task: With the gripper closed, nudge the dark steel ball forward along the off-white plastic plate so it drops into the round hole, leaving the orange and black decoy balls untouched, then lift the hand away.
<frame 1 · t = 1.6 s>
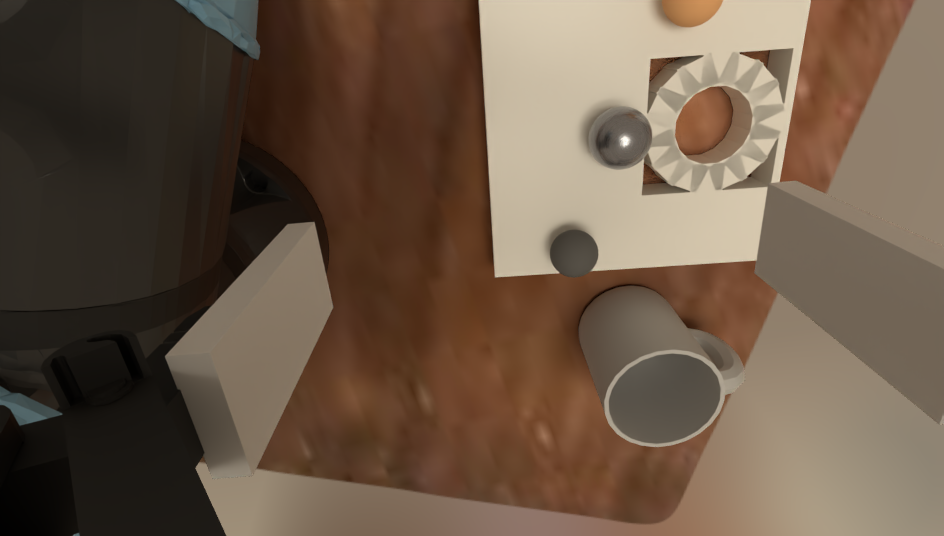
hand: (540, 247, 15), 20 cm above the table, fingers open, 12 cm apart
cup: (641, 323, 40), on the table
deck: (626, 124, 33), on the table
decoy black: (573, 253, 33), point 4 cm above the table, touching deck
ball: (619, 138, 30), point 4 cm above the table, touching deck
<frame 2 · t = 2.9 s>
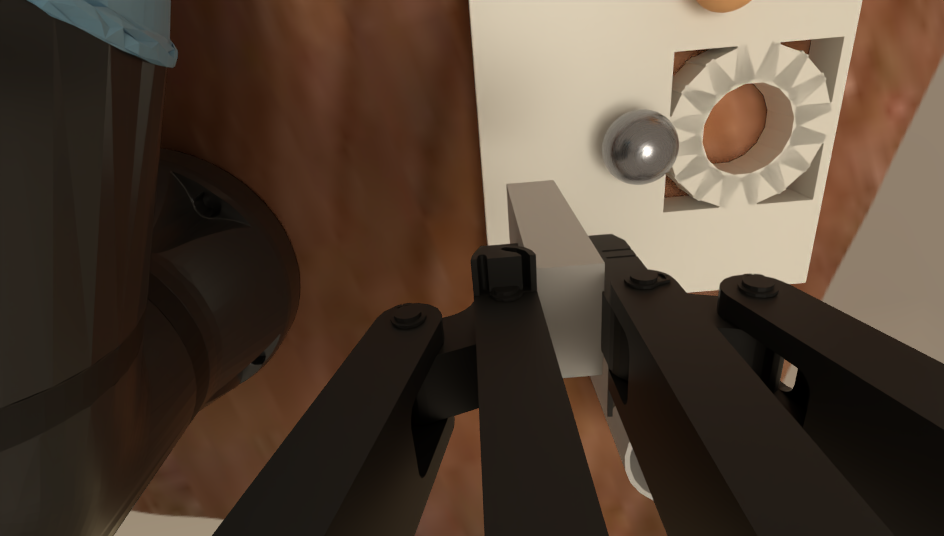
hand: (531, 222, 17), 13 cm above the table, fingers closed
cup: (659, 353, 35), on the table
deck: (642, 129, 29), on the table
ball: (639, 147, 25), point 4 cm above the table, touching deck
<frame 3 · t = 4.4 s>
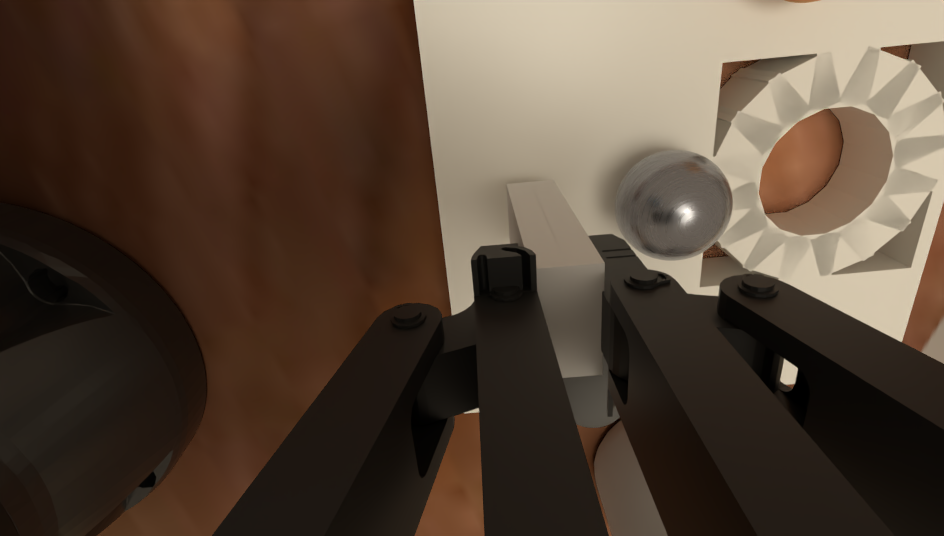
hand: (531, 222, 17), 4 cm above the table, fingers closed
cup: (686, 450, 27), on the table
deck: (669, 169, 20), on the table
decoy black: (590, 386, 20), point 4 cm above the table, touching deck
ball: (671, 205, 17), point 4 cm above the table, touching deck
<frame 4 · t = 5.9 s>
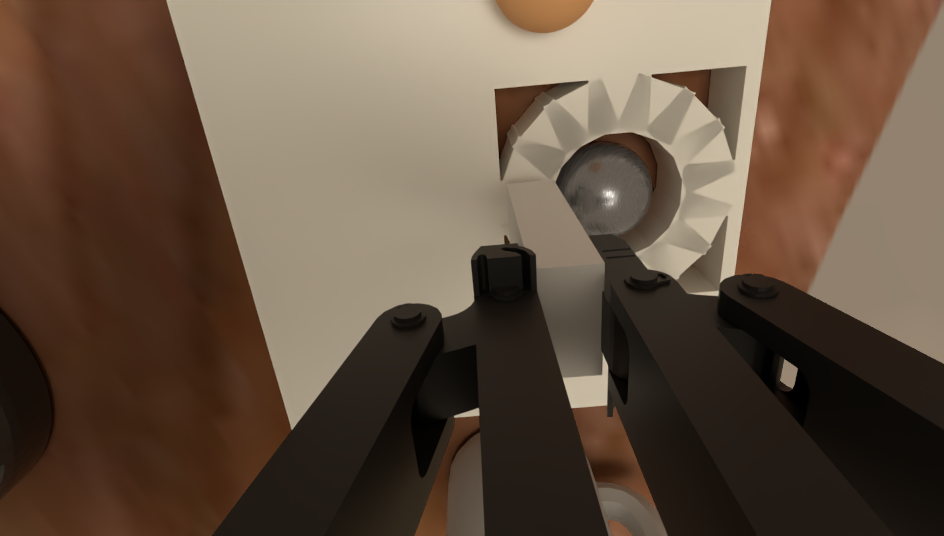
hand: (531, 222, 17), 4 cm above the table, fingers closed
cup: (545, 467, 27), on the table
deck: (484, 190, 21), on the table
ball: (601, 191, 19), point 2 cm above the table, tilted 141°
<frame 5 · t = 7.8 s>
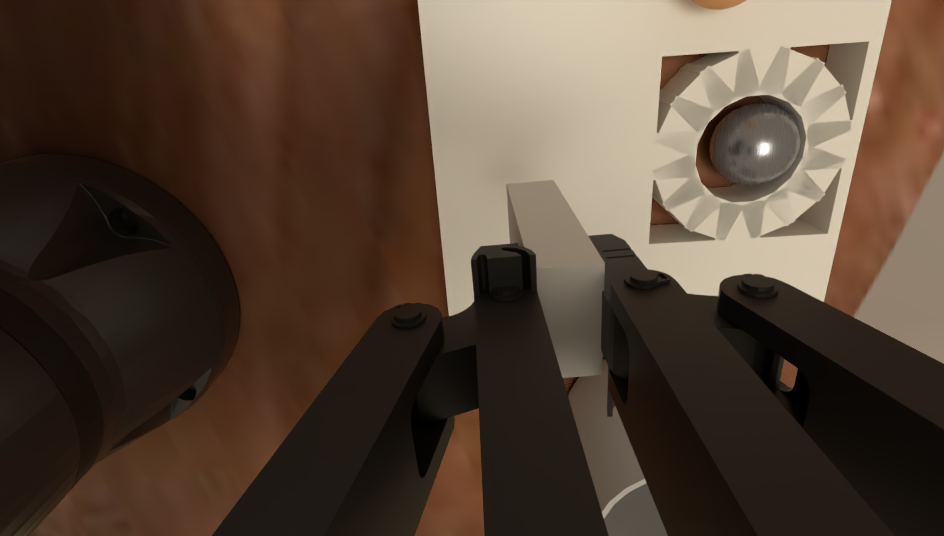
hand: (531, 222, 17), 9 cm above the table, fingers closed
cup: (648, 399, 31), on the table
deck: (628, 146, 25), on the table
ball: (753, 145, 23), point 2 cm above the table, tilted 114°
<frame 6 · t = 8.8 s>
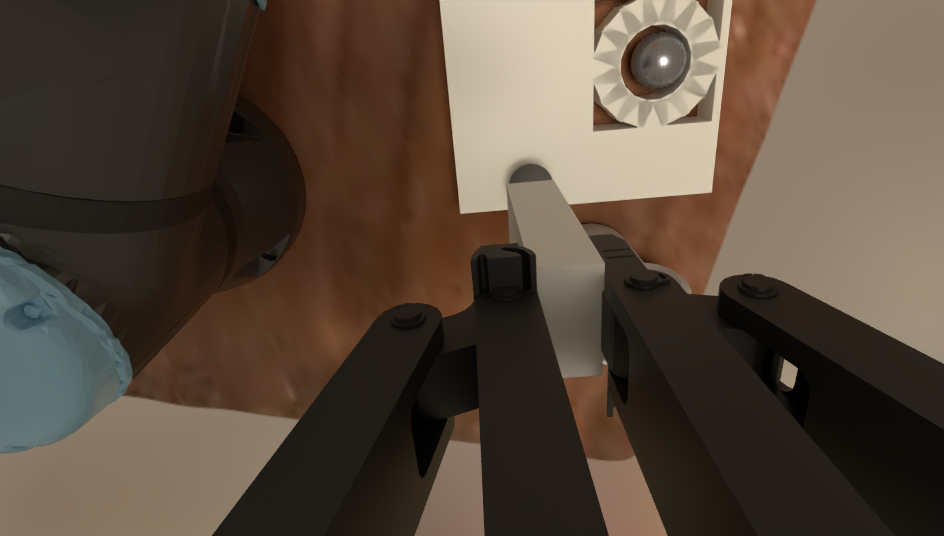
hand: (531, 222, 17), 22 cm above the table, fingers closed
cup: (602, 261, 42), on the table
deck: (578, 67, 36), on the table
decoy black: (530, 186, 35), point 4 cm above the table, touching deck
ball: (658, 60, 34), point 2 cm above the table, tilted 116°
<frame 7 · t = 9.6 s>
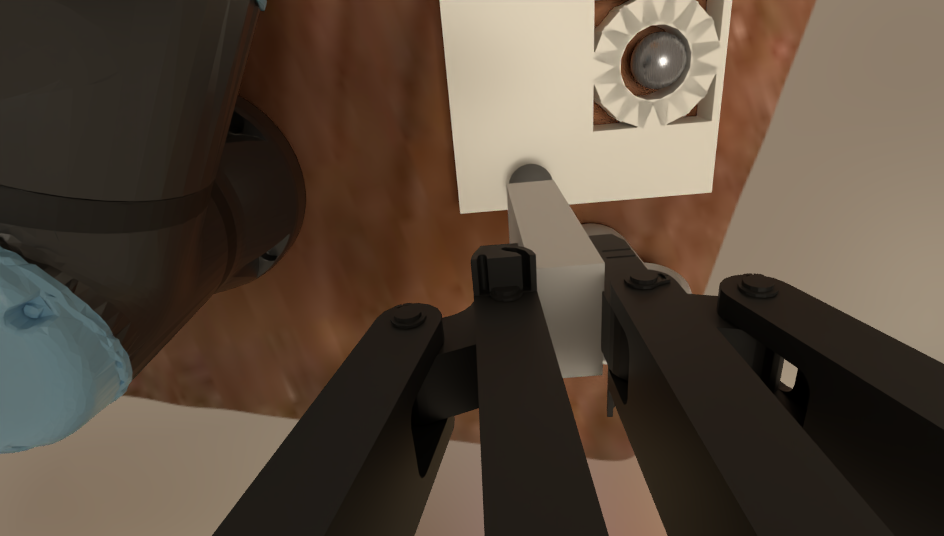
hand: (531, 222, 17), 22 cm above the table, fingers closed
cup: (602, 261, 42), on the table
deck: (578, 67, 36), on the table
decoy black: (530, 186, 35), point 4 cm above the table, touching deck
ball: (658, 60, 34), point 2 cm above the table, tilted 117°
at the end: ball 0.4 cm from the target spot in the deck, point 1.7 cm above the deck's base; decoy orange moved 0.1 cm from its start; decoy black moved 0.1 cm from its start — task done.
